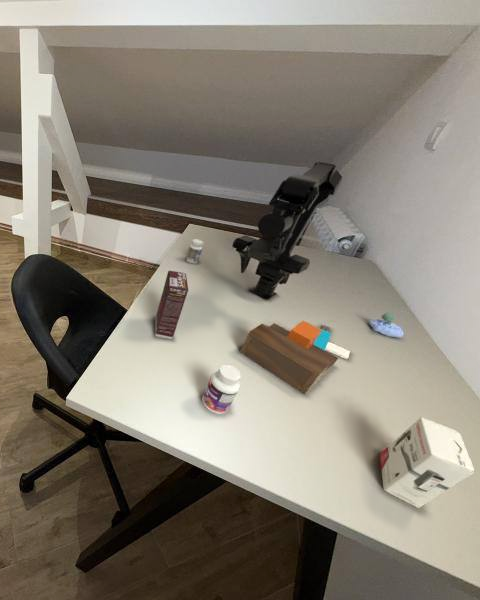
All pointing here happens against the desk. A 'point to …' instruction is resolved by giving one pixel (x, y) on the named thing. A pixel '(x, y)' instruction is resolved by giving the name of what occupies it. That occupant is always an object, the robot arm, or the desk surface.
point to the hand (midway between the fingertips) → (256, 279)
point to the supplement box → (171, 304)
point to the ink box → (424, 462)
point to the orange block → (304, 334)
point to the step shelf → (287, 356)
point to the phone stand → (330, 344)
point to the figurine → (387, 326)
